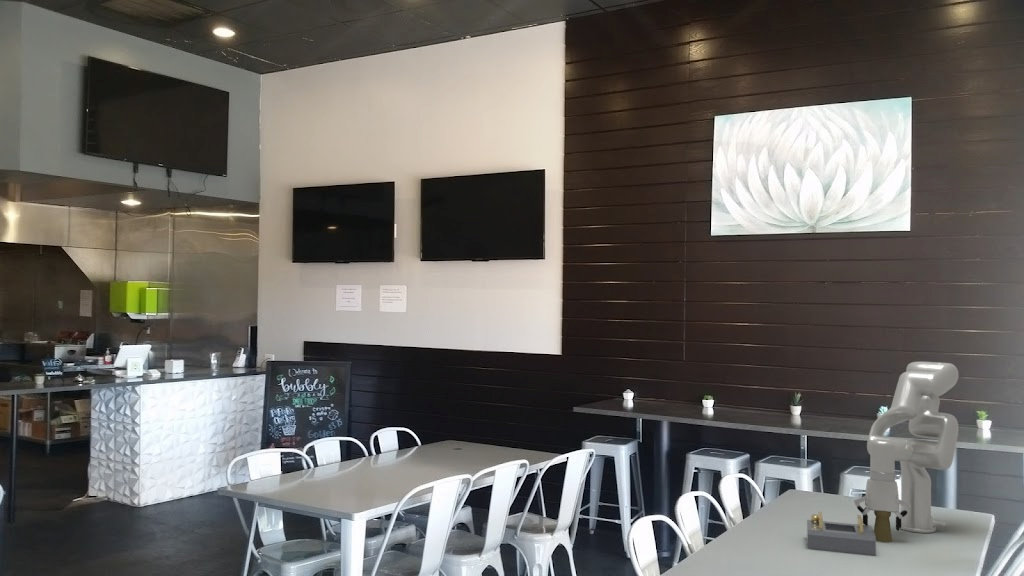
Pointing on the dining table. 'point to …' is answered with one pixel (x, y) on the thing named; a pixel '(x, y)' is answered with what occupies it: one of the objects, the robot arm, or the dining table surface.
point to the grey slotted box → (840, 536)
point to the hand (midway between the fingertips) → (881, 528)
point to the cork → (882, 526)
